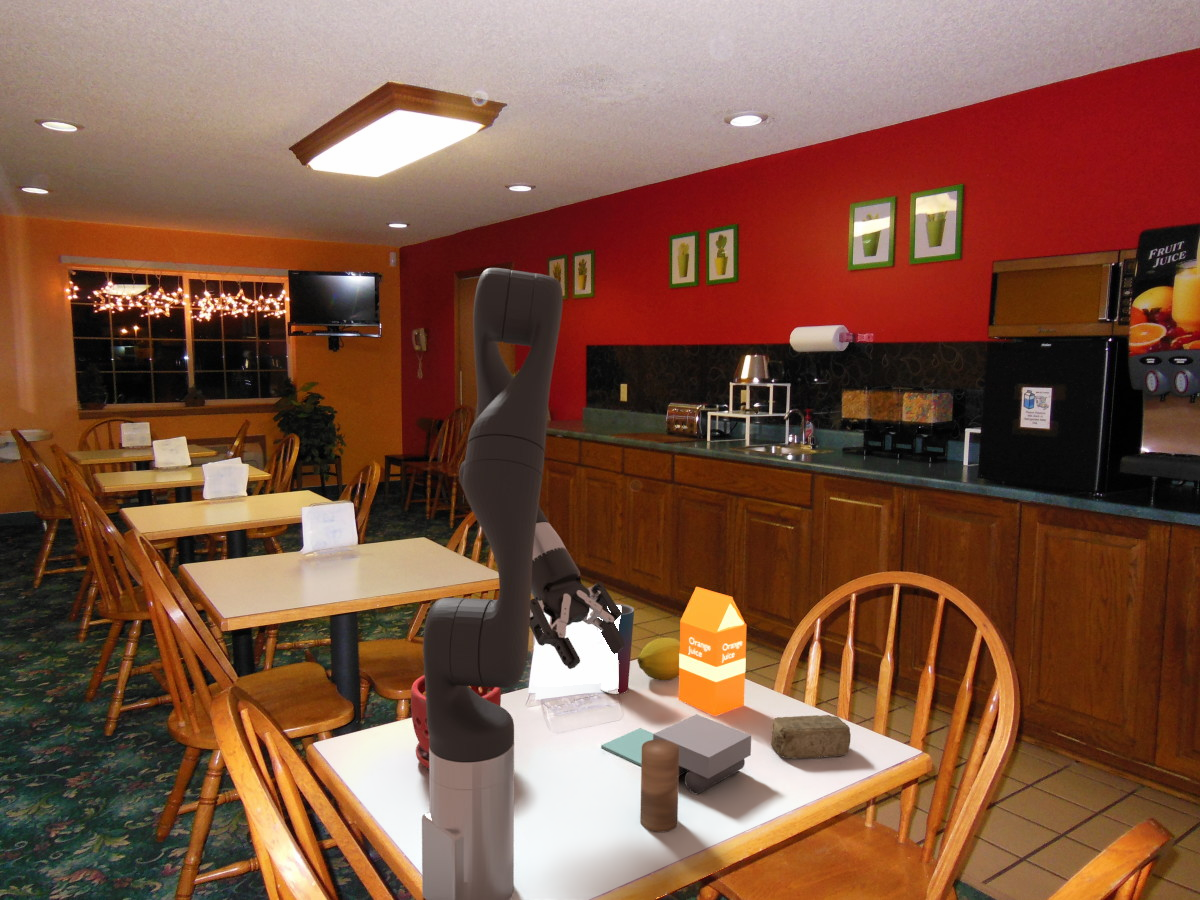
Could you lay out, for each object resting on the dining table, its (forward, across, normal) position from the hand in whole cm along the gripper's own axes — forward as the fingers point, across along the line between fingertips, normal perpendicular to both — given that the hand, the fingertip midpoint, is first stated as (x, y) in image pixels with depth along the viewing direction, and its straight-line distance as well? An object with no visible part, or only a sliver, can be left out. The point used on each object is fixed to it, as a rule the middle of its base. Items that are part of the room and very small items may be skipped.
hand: (598, 657), depth 114 cm
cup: (-3, +27, +30) cm, 41 cm away
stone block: (+24, +32, +4) cm, 40 cm away
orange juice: (+9, +36, +19) cm, 41 cm away
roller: (+22, 0, +5) cm, 22 cm away
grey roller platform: (+19, +14, +8) cm, 25 cm away
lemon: (0, +38, +28) cm, 47 cm away
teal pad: (+11, +14, +16) cm, 24 cm away
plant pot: (-1, -10, +28) cm, 29 cm away
